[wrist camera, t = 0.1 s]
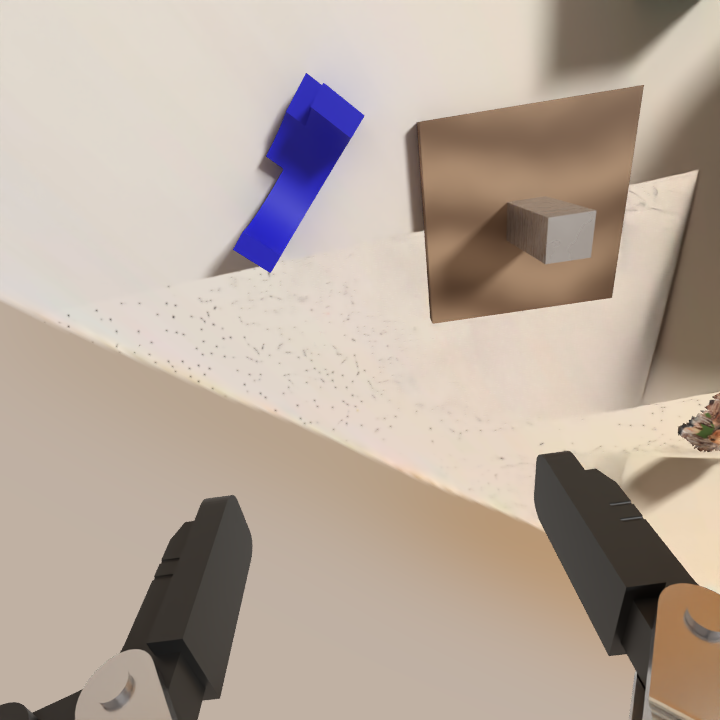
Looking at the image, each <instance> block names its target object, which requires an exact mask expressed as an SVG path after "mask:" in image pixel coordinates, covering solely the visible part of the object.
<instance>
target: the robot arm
mask: <svg viewBox="0 0 720 720" xmlns="http://www.w3.org/2000/svg"><path fill="white" fill-rule="evenodd" d="M534 502H535V508H536V512H537V515H538V518H539V520H540V522H541V524H542V526H543V528H544V530H545V532H546V534H547V536H548V538H549V540H550V542H551V543H552V545H553V548H554V550H555V552H556V553H557V556H558V558H559V559H560V561H561V563H562V565H563V567H564V569H565V571H566V573H567V575H568V577H569V579H570V581H571V583H572V585H573V587H574V589H575V590H576V593H577V595H578V596H579V599H580V600H581V602H582V604H583V606H584V608H585V610H586V612H587V614H588V616H589V618H590V620H591V622H592V624H593V626H594V628H595V630H596V632H597V633H598V636H599V637H600V639H601V641H602V643H603V645H604V647H605V649H606V651H607V653H608V655H609V656H613V655H622V654H627V655H628V657H629V659H630V661H631V662H632V664H633V666H634V668H635V670H636V672H635V676H634V684H633V691H632V700H631V708H630V715H629V720H720V594H718V593H716V592H714V591H712V590H710V589H707V588H705V587H702V586H699V585H698V584H697V583H696V582H695V581H694V579H693V578H692V577H691V576H690V575H689V574H688V572H687V571H686V570H685V568H684V567H683V566H682V565H681V563H680V562H679V561H678V560H677V558H676V557H675V556H674V555H673V553H672V552H671V551H670V550H669V548H668V547H667V546H666V545H665V543H664V542H663V541H662V539H661V538H660V537H659V536H658V534H657V533H656V532H655V531H654V529H653V528H652V527H651V526H650V524H649V523H648V522H647V521H646V519H643V517H642V514H641V513H640V512H639V510H638V509H637V508H636V507H635V505H634V504H631V500H630V499H629V498H628V497H627V495H626V494H625V493H624V492H623V490H622V489H621V488H620V487H619V485H618V484H617V483H616V482H615V481H613V480H612V479H610V478H609V477H607V476H606V475H604V474H603V473H602V472H600V471H599V470H597V469H590V470H584V468H583V467H582V465H581V464H580V463H579V461H578V460H577V459H576V457H575V456H574V455H573V454H572V453H571V452H570V451H564V452H556V453H549V454H542V455H538V457H537V461H536V475H535V490H534ZM251 557H252V538H251V533H250V530H249V528H248V525H247V523H246V520H245V518H244V515H243V513H242V511H241V508H240V506H239V503H238V501H237V499H236V497H235V496H234V495H231V496H223V497H215V498H208V499H204V500H203V502H202V503H201V505H200V508H199V510H198V513H197V516H196V518H195V521H191V522H185V523H184V524H183V525H182V527H181V528H180V529H179V530H178V532H177V533H176V534H175V535H174V536H173V537H172V538H171V540H170V542H169V544H168V546H167V549H166V551H165V553H164V556H163V558H162V563H161V564H159V567H158V569H157V571H156V574H155V576H154V577H155V579H154V580H153V581H152V583H151V585H150V587H149V590H148V592H147V594H146V597H145V599H144V601H143V604H142V606H141V608H140V610H139V612H138V615H137V617H136V619H135V622H134V624H133V626H132V628H131V631H130V633H129V635H128V638H127V640H126V642H125V645H124V646H123V648H122V650H121V652H120V653H119V654H117V655H115V656H114V657H112V658H111V659H109V660H108V661H106V662H105V663H104V664H103V665H102V666H101V667H100V668H99V669H97V670H96V672H95V673H94V674H93V675H92V676H91V678H90V679H89V680H88V682H87V683H86V685H85V686H84V688H83V689H82V690H80V691H78V692H76V693H74V694H72V695H70V696H68V697H66V698H63V699H61V700H59V701H57V702H55V703H53V704H50V705H48V706H46V707H44V708H42V709H40V710H37V711H35V712H33V713H32V712H30V711H29V710H28V709H27V708H26V707H25V706H24V705H22V704H20V703H15V702H13V703H6V704H3V705H0V720H197V719H198V715H199V711H200V708H201V703H202V700H211V699H219V698H220V696H221V691H222V686H223V682H224V678H225V673H226V669H227V665H228V660H229V656H230V651H231V647H232V642H233V638H234V633H235V629H236V624H237V620H238V615H239V611H240V606H241V602H242V598H243V593H244V589H245V584H246V580H247V575H248V570H249V566H250V562H251Z"/></svg>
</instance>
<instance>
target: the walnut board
mask: <svg viewBox="0 0 720 720" xmlns="http://www.w3.org/2000/svg"><path fill="white" fill-rule="evenodd" d="M643 87H644V85H641V86H635V87H629V88H623V89H617V90H611V91H604V92H598V93H592V94H586V95H580V96H574V97H568V98H562V99H556V100H550V101H543V102H537V103H531V104H525V105H519V106H513V107H507V108H501V109H495V110H489V111H483V112H476V113H470V114H464V115H458V116H452V117H446V118H440V119H434V120H428V121H422V122H417V131H418V146H419V160H420V175H421V190H422V204H423V219H424V233H425V248H426V262H427V277H428V292H429V306H430V319H431V321H432V323H433V324H434V323H441V322H448V321H454V320H461V319H468V318H475V317H482V316H489V315H496V314H503V313H510V312H517V311H524V310H530V309H537V308H544V307H551V306H558V305H565V304H572V303H579V302H586V301H593V300H599V299H606V298H612V293H613V287H614V280H615V273H616V267H617V260H618V253H619V247H620V240H621V234H622V227H623V220H624V214H625V207H626V200H627V194H628V187H629V180H630V174H631V167H632V160H633V154H634V147H635V141H636V134H637V127H638V121H639V114H640V107H641V101H642V94H643ZM544 196H546V197H550V198H554V199H557V200H561V201H564V202H568V203H572V204H575V205H579V206H582V207H586V208H590V209H593V210H596V219H595V227H594V236H593V244H592V252H591V258H584V259H578V260H571V261H564V262H558V263H551V264H544V263H542V262H541V261H539V260H537V259H536V258H534V257H533V256H531V255H529V254H528V253H526V252H525V251H523V250H521V249H520V248H518V247H516V246H515V245H513V244H512V243H510V242H508V241H507V240H506V238H507V202H512V201H518V200H525V199H531V198H537V197H544Z"/></svg>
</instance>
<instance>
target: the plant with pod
mask: <svg viewBox="0 0 720 720" xmlns="http://www.w3.org/2000/svg"><path fill="white" fill-rule="evenodd" d="M713 398H714V399H715V400H710V403H709V405H708V406H706V407H705V408H706V409H708V410H709V411H701V412H702V413H703V414H700V413H698V415H697V416H696V417H693V416H692V419H691V420H689V423H687V424H684V423H683V425H682V426H679V427H678V433H679V434H680V436H681V437H682V438H683V437H684V438H685V439H687V441H689V442H690V443H691V444H692V446H694V445H695V447H694V449H695V448H697V447H698V448H697V449H698V450H699V451H703V450H704V452H706V451H707V452H710V451H712V450H714V449H715V450H716V451H717V450H719V451H720V393H719V394H717V395H715V396H713ZM679 434H678V436H679Z"/></svg>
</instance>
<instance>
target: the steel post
mask: <svg viewBox="0 0 720 720" xmlns="http://www.w3.org/2000/svg"><path fill="white" fill-rule="evenodd" d="M595 219H596V210H593V209H590V208H586V207H582V206H579V205H575V204H572V203H568V202H564V201H561V200H557V199H554V198H550V197H546V196H544V197H537V198H531V199H525V200H518V201H512V202H507V238H506V240H507V241H508V242H510V243H512V244H513V245H515V246H516V247H518V248H520V249H521V250H523V251H525V252H526V253H528V254H529V255H531V256H533V257H534V258H536V259H537V260H539V261H541V262H542V263H544V264H551V263H558V262H564V261H571V260H578V259H584V258H591V252H592V244H593V236H594V227H595Z"/></svg>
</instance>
